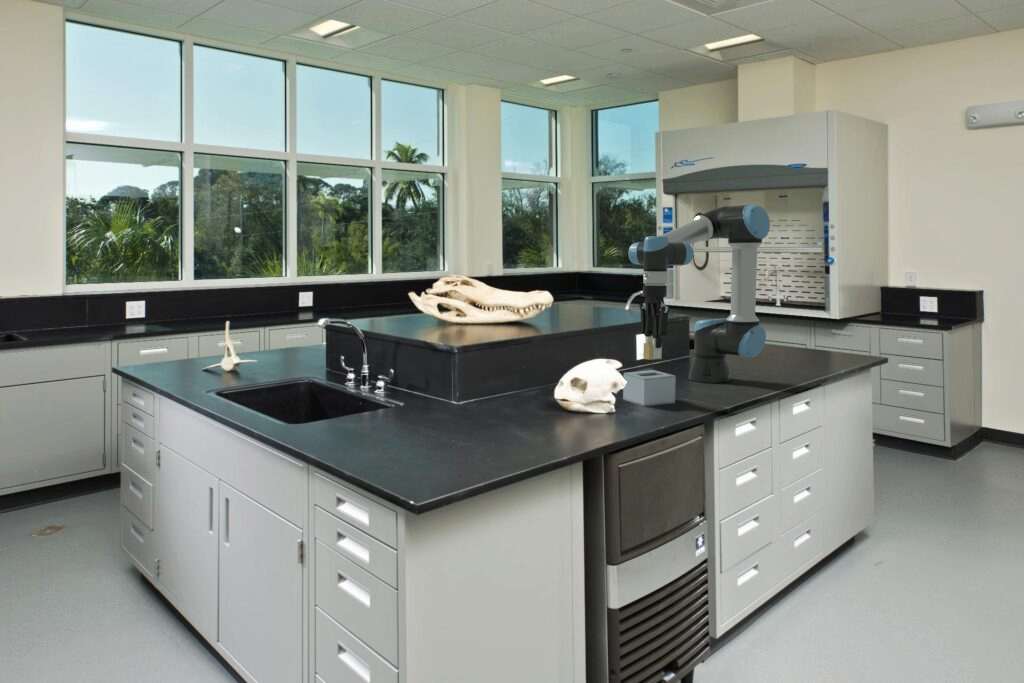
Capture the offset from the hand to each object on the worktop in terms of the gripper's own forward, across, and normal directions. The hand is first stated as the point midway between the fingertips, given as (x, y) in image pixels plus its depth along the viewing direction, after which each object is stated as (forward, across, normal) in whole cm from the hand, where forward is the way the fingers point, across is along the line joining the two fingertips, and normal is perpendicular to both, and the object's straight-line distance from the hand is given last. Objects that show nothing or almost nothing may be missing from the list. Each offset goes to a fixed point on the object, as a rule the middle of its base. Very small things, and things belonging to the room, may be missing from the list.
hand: (653, 356), depth 245 cm
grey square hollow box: (+15, -1, -1) cm, 15 cm away
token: (+1, 0, 0) cm, 1 cm away
